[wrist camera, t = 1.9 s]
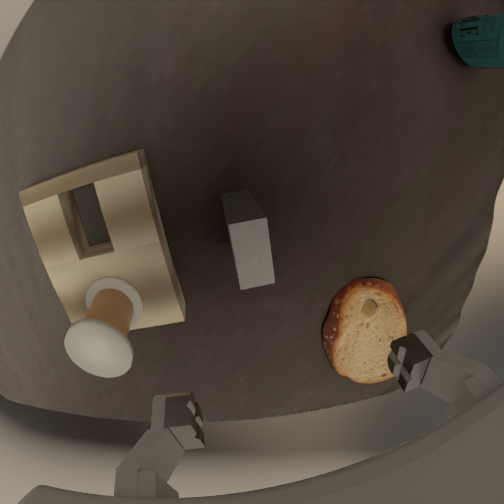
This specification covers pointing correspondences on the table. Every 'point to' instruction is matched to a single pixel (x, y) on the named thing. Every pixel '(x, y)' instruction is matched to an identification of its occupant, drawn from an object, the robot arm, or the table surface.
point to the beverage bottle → (480, 40)
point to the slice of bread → (363, 329)
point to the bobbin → (106, 328)
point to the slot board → (120, 231)
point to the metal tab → (248, 239)
